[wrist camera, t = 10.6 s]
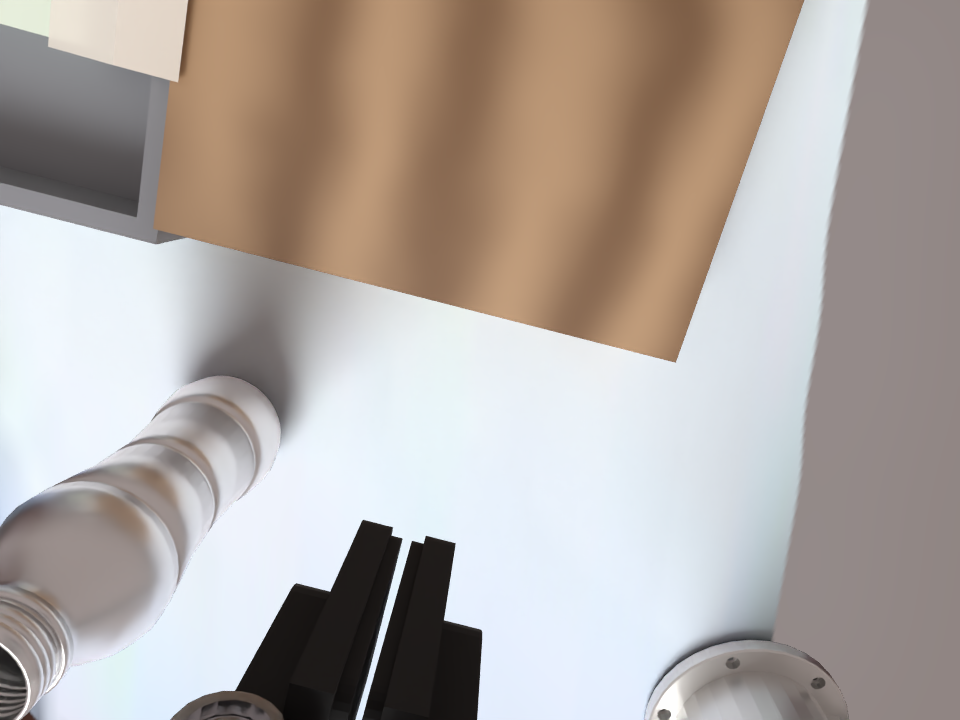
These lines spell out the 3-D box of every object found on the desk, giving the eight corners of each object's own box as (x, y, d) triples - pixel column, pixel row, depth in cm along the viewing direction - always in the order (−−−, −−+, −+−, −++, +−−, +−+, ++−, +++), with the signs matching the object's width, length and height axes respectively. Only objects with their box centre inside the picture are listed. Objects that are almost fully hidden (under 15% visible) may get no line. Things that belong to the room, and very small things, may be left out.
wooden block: (784, -78, 30) (852, -136, 25) (646, 331, 36) (675, 362, 30) (271, -228, 29) (216, -325, 24) (209, 218, 35) (153, 228, 29)
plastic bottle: (296, 374, 37) (82, 596, 18) (286, 483, 39) (84, 788, 20) (181, 356, 37) (-159, 560, 18) (177, 466, 39) (-134, 757, 20)
